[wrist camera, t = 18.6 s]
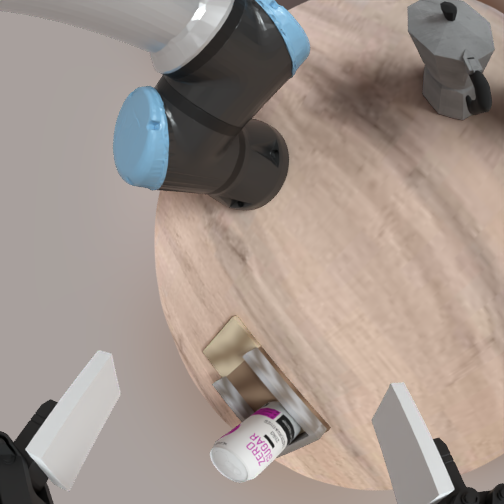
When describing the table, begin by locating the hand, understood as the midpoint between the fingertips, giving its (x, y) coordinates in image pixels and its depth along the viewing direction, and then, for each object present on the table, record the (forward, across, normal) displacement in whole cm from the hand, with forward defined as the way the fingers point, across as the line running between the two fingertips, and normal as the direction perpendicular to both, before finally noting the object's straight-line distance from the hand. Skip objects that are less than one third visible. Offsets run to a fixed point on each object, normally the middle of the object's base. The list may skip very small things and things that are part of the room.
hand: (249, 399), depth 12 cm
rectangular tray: (+29, +4, -27) cm, 40 cm away
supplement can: (+25, +8, -30) cm, 40 cm away
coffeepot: (+23, +24, +24) cm, 41 cm away
